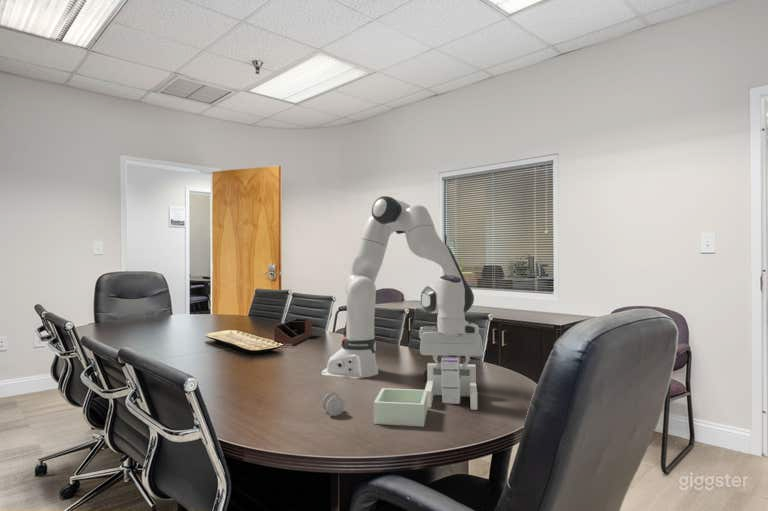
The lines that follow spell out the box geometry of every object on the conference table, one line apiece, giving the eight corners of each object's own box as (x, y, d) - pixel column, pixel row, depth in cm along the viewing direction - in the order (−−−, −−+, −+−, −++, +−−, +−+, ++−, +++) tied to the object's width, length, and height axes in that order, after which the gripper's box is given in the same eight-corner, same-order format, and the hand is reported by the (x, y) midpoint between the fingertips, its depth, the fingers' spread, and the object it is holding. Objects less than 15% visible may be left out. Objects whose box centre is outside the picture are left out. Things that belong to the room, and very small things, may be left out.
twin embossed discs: (326, 417, 135) (326, 396, 135) (322, 412, 139) (322, 392, 139) (344, 414, 137) (344, 394, 137) (340, 410, 141) (340, 390, 141)
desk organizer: (313, 338, 264) (312, 318, 264) (292, 349, 235) (291, 326, 235) (295, 338, 266) (295, 318, 266) (272, 348, 237) (272, 326, 237)
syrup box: (460, 404, 146) (459, 358, 146) (441, 403, 147) (441, 357, 147) (460, 398, 151) (460, 354, 151) (442, 397, 153) (442, 353, 153)
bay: (424, 407, 143) (424, 375, 143) (428, 392, 159) (427, 362, 159) (477, 409, 141) (477, 376, 141) (475, 394, 156) (475, 364, 156)
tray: (373, 423, 129) (373, 402, 129) (382, 407, 143) (381, 388, 143) (423, 426, 127) (423, 404, 127) (427, 409, 141) (427, 389, 141)
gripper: (418, 327, 148) (418, 370, 148) (483, 328, 145) (483, 372, 145) (419, 324, 154) (420, 365, 154) (482, 325, 151) (482, 367, 151)
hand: (451, 369), depth 149 cm, fingers open, 7 cm apart
